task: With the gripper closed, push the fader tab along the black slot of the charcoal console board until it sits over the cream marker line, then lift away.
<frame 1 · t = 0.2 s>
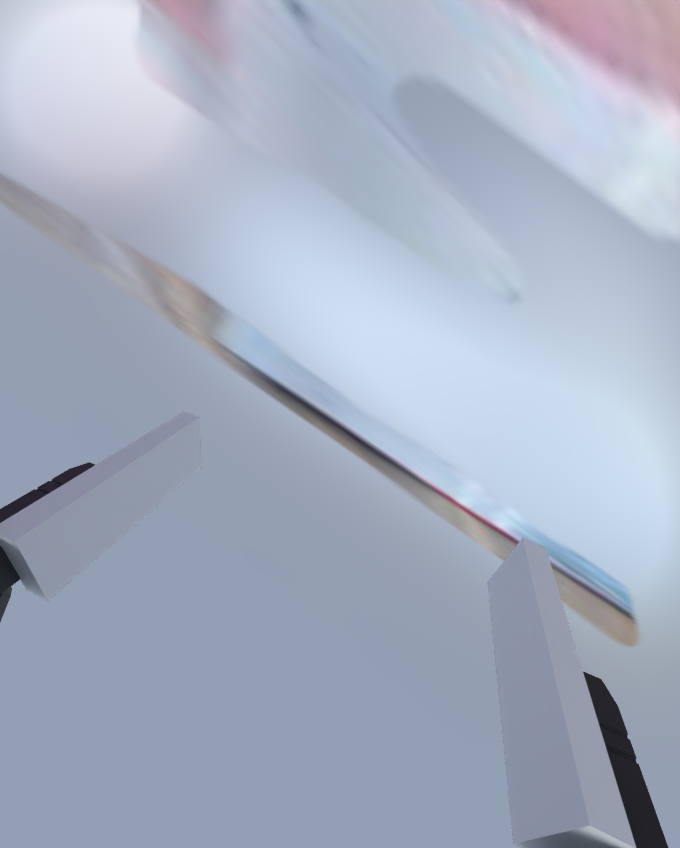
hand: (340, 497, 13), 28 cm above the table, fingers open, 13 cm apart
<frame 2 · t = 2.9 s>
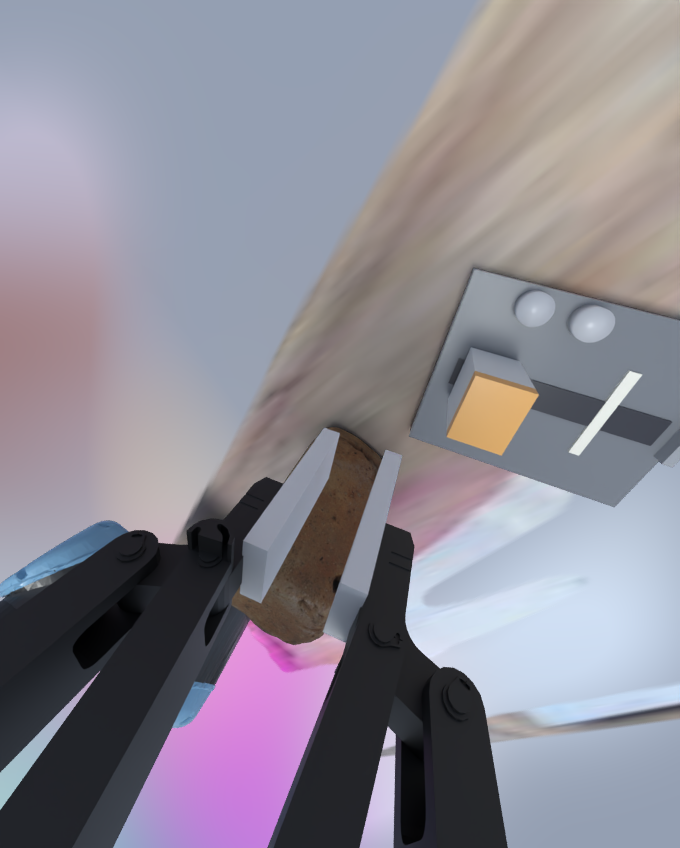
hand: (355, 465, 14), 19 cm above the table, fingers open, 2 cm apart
console board: (546, 391, 29), on the table
fader tab: (485, 397, 25), point 6 cm above the table, slide at 0.0 cm
brown rounded piece: (354, 459, 39), on the table
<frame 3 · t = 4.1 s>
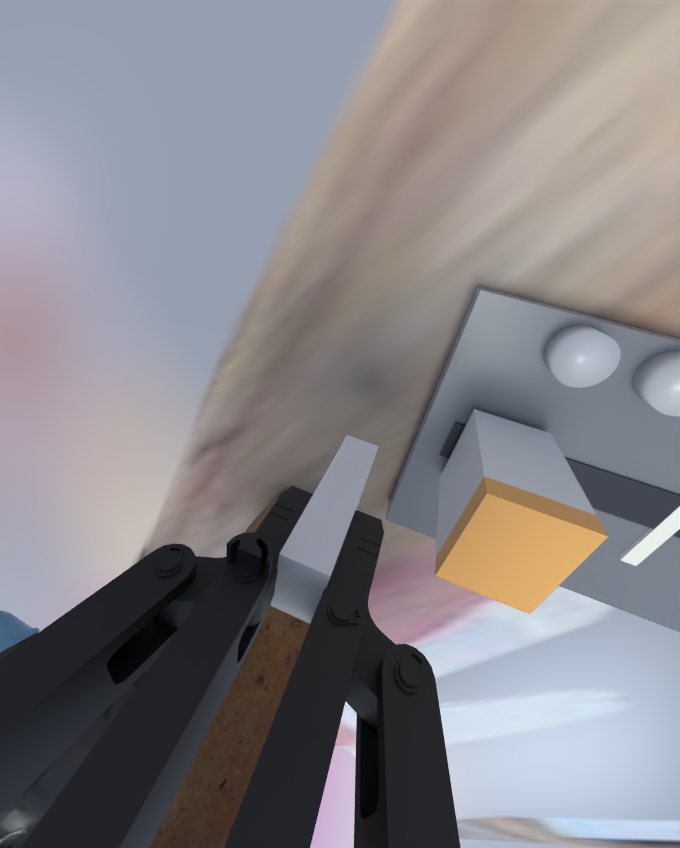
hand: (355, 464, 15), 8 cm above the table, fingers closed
console board: (585, 467, 19), on the table
fader tab: (498, 498, 15), point 6 cm above the table, slide at 0.0 cm
brown rounded piece: (317, 532, 30), on the table
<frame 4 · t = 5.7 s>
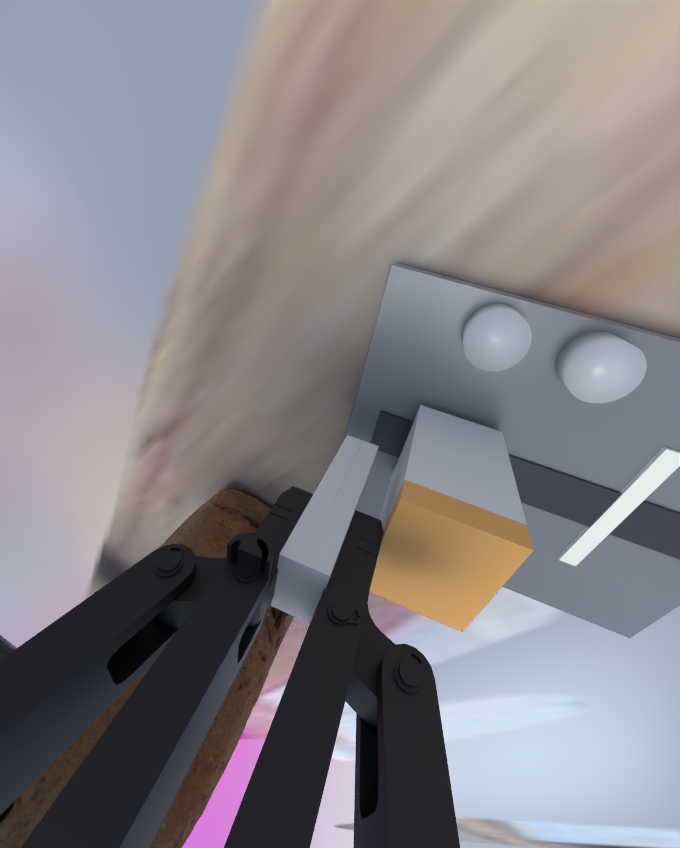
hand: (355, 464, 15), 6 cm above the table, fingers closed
console board: (523, 461, 18), on the table
fader tab: (438, 502, 14), point 6 cm above the table, slide at 1.3 cm, touching gripper
brown rounded piece: (267, 528, 28), on the table
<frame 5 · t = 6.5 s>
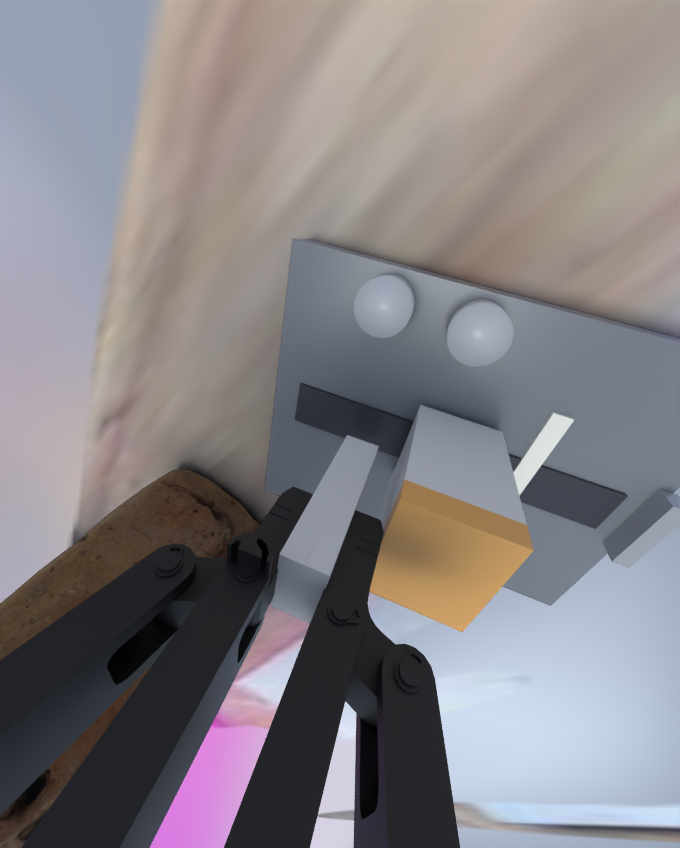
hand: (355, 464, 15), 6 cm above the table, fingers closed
console board: (443, 433, 19), on the table
fader tab: (438, 502, 14), point 6 cm above the table, slide at 6.0 cm, touching gripper
brown rounded piece: (221, 508, 29), on the table
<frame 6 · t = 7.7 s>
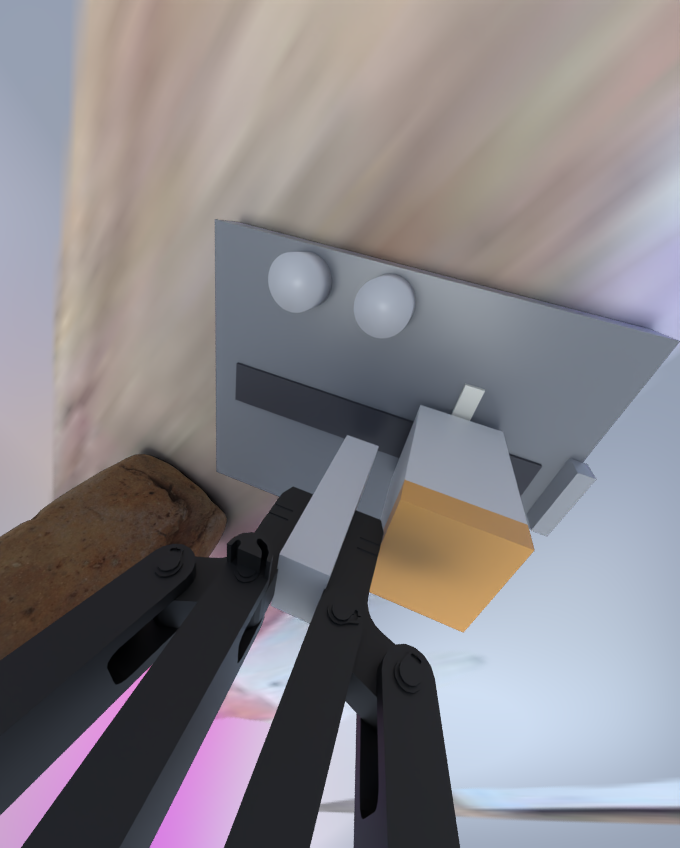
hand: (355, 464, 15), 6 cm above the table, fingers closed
console board: (379, 412, 19), on the table
fader tab: (438, 502, 14), point 6 cm above the table, slide at 9.9 cm, touching gripper
brown rounded piece: (185, 494, 30), on the table
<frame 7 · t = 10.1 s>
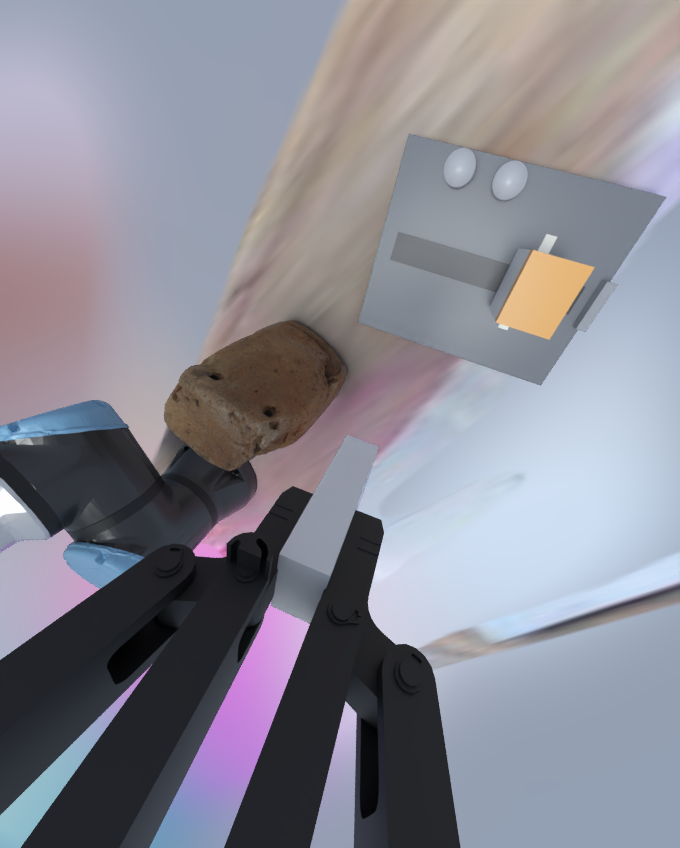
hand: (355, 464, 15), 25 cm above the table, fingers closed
console board: (480, 270, 31), on the table
fader tab: (532, 290, 25), point 6 cm above the table, slide at 9.9 cm
brown rounded piece: (312, 359, 41), on the table
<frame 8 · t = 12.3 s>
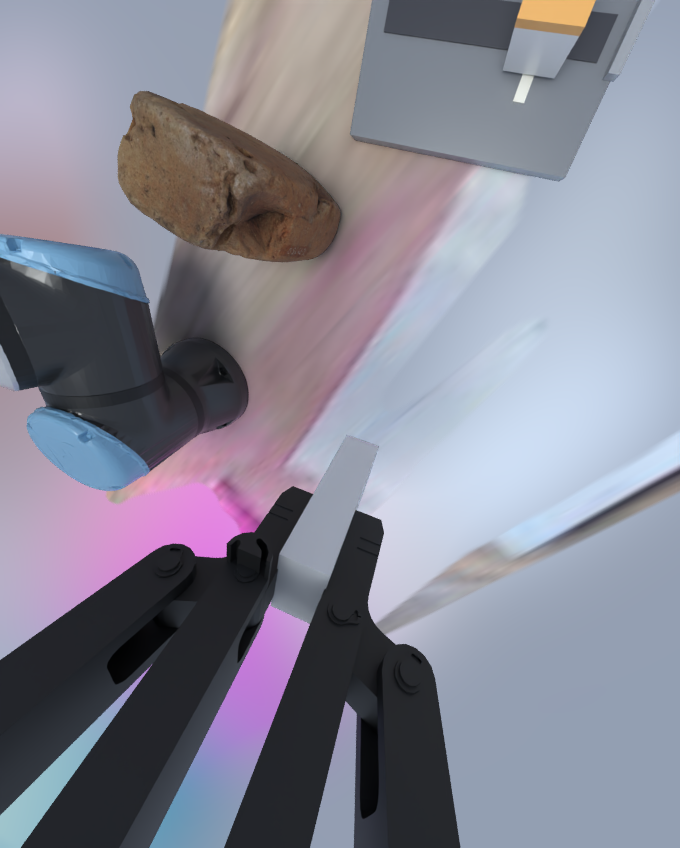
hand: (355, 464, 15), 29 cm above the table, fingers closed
console board: (489, 38, 27), on the table
brown rounded piece: (302, 210, 37), on the table
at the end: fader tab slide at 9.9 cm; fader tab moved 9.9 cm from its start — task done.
